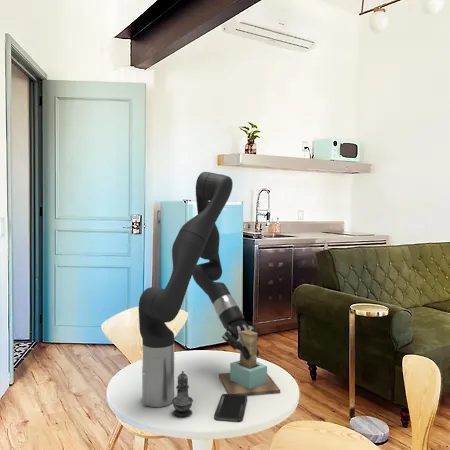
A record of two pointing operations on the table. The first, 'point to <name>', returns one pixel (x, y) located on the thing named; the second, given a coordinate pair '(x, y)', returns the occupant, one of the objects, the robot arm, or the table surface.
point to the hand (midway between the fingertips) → (253, 357)
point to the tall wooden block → (249, 348)
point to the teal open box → (248, 374)
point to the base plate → (238, 389)
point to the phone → (231, 408)
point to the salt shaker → (182, 398)
